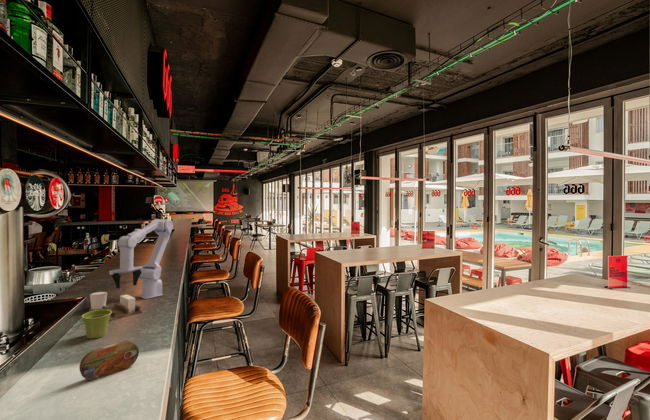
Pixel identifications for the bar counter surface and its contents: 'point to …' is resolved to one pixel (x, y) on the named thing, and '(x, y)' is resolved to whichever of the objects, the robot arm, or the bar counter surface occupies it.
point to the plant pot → (96, 323)
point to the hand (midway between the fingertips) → (126, 286)
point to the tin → (108, 360)
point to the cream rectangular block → (128, 302)
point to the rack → (120, 311)
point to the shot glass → (98, 300)
